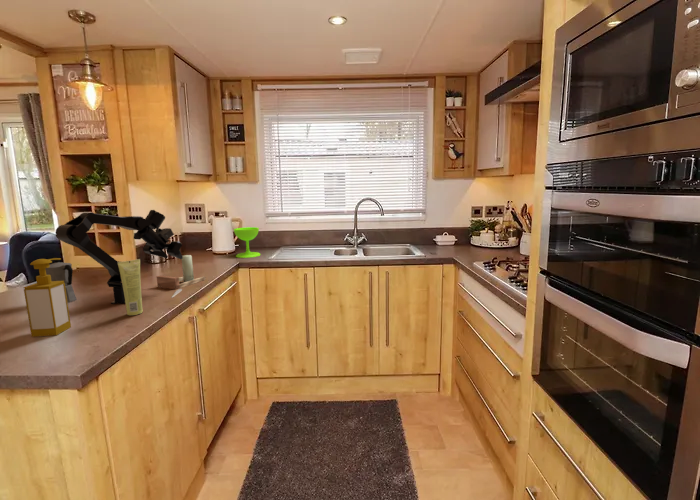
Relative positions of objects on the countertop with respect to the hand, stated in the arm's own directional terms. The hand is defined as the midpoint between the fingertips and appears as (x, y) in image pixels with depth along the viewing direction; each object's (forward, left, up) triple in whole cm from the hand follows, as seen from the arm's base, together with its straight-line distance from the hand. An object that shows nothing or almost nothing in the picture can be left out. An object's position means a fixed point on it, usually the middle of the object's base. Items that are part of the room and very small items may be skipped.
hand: (174, 257), depth 173 cm
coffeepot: (-21, +36, -13) cm, 44 cm away
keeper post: (+6, -3, -13) cm, 15 cm away
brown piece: (+3, -1, -13) cm, 13 cm away
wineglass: (+74, -17, -13) cm, 77 cm away
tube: (-40, -2, -13) cm, 42 cm away
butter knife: (-21, -7, -13) cm, 26 cm away
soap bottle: (-53, +17, -13) cm, 57 cm away
